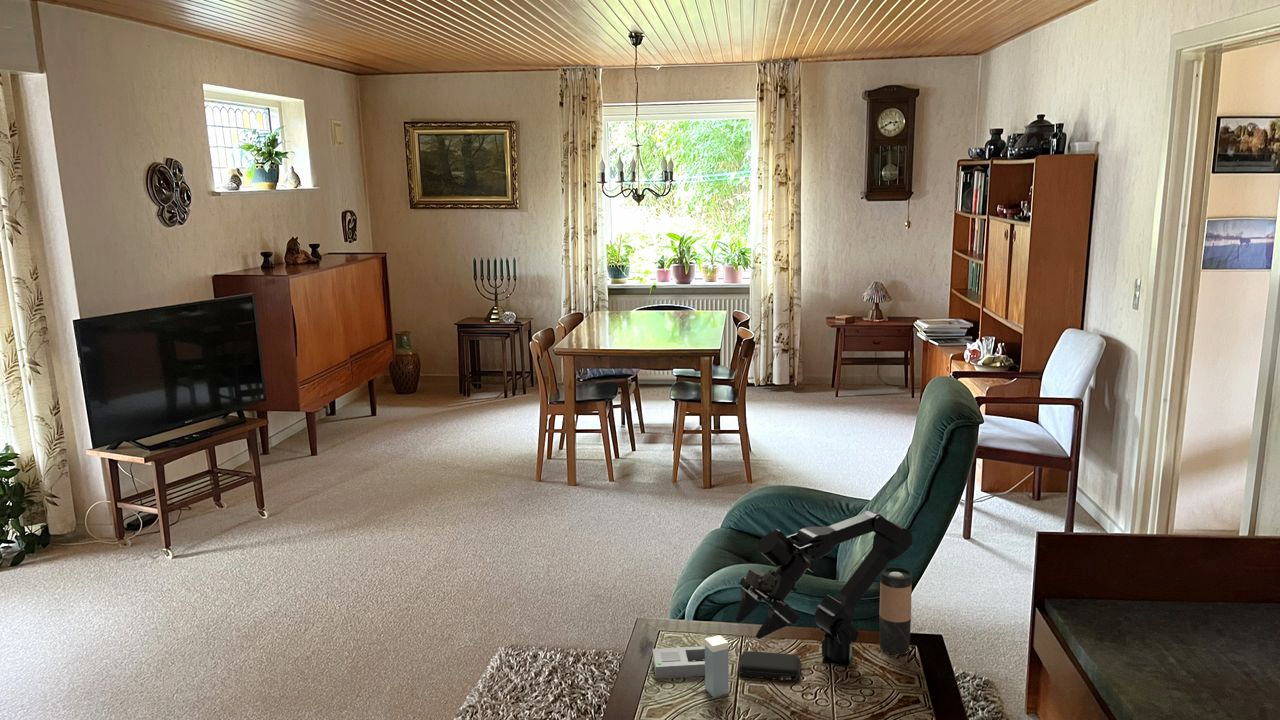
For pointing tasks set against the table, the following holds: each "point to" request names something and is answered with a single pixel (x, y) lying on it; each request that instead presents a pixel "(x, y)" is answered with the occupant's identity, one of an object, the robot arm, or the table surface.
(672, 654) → the grey holder base
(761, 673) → the carrying case or bag
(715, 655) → the blue-grey square block
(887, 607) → the travel mug
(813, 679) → the table surface
